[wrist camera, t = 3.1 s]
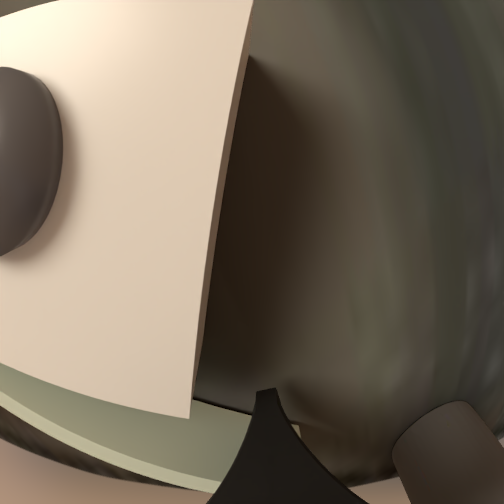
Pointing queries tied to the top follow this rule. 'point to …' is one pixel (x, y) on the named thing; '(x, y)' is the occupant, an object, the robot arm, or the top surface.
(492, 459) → the bottle
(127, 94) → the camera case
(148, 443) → the cream flat bar
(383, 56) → the top surface
